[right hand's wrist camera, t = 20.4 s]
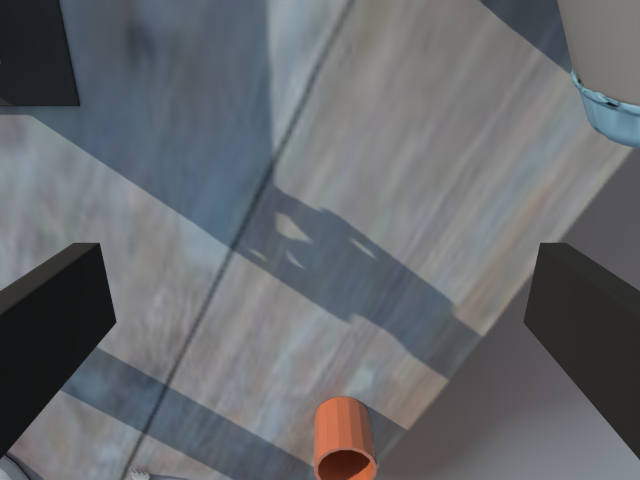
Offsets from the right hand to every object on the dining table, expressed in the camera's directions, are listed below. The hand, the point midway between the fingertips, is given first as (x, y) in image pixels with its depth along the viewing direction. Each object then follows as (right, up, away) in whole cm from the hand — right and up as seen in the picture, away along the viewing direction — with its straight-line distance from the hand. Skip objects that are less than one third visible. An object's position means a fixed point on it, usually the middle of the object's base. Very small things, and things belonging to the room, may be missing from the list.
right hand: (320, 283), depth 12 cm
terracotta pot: (+3, -23, +43) cm, 49 cm away
